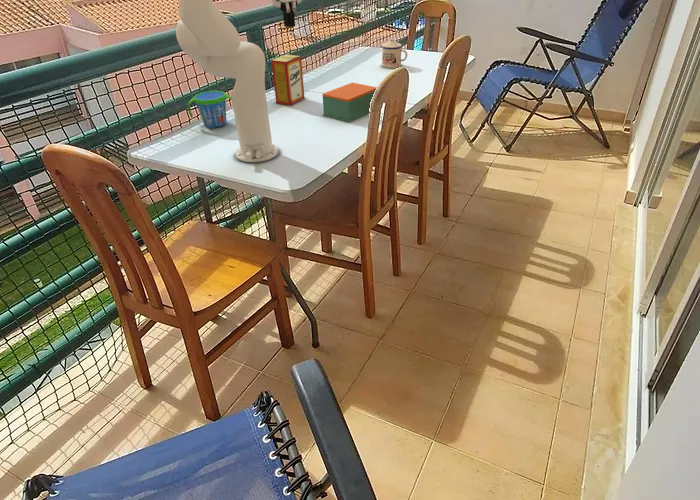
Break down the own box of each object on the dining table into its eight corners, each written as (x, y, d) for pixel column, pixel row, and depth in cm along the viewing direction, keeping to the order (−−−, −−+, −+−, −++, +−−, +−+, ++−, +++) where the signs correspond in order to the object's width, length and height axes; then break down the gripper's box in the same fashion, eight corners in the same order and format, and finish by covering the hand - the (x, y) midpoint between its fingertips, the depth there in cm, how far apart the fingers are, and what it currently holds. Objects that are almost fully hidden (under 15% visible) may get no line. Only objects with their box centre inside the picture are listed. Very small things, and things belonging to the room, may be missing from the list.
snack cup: (189, 131, 165) (182, 101, 159) (195, 120, 174) (189, 91, 168) (236, 128, 166) (231, 98, 160) (239, 118, 174) (235, 89, 169)
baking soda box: (290, 105, 184) (285, 60, 175) (276, 103, 187) (271, 59, 178) (304, 98, 191) (300, 54, 182) (290, 96, 194) (286, 53, 185)
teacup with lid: (378, 67, 225) (378, 40, 218) (385, 62, 231) (386, 36, 225) (403, 69, 220) (404, 41, 214) (410, 64, 227) (411, 37, 220)
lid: (352, 84, 180) (352, 82, 180) (377, 89, 174) (377, 87, 174) (322, 96, 170) (322, 93, 170) (348, 101, 164) (348, 99, 163)
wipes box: (351, 103, 184) (351, 85, 180) (376, 109, 177) (376, 90, 174) (323, 115, 174) (322, 96, 170) (349, 121, 168) (348, 102, 164)
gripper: (272, -42, 131) (280, 32, 142) (311, -46, 141) (315, 23, 151) (254, -43, 135) (262, 29, 146) (292, -47, 145) (298, 21, 155)
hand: (289, 26), depth 148 cm, fingers closed
